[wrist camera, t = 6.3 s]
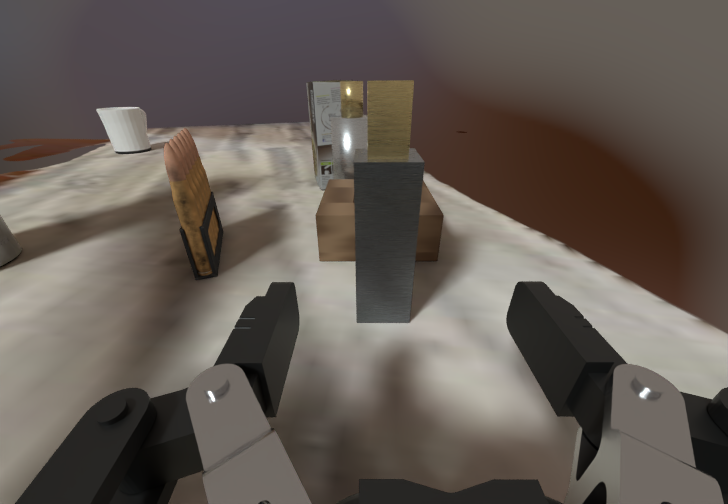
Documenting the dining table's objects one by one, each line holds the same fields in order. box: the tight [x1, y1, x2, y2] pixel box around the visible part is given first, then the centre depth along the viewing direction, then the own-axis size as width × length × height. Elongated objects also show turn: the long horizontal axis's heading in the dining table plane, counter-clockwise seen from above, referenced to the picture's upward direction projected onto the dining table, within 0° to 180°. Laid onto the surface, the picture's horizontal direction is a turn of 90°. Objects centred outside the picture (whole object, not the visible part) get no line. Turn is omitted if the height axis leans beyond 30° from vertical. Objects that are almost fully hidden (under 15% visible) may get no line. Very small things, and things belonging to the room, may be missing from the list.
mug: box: [97, 107, 151, 154], centre depth 79 cm, size 11×9×10 cm
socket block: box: [316, 179, 444, 261], centre depth 35 cm, size 12×12×5 cm
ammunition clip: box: [164, 128, 223, 280], centre depth 30 cm, size 11×2×12 cm, turn 19°
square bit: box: [354, 81, 424, 323], centre depth 21 cm, size 4×4×16 cm
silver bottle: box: [330, 81, 367, 179], centre depth 41 cm, size 6×6×16 cm
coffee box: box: [307, 80, 349, 190], centre depth 51 cm, size 9×6×16 cm
